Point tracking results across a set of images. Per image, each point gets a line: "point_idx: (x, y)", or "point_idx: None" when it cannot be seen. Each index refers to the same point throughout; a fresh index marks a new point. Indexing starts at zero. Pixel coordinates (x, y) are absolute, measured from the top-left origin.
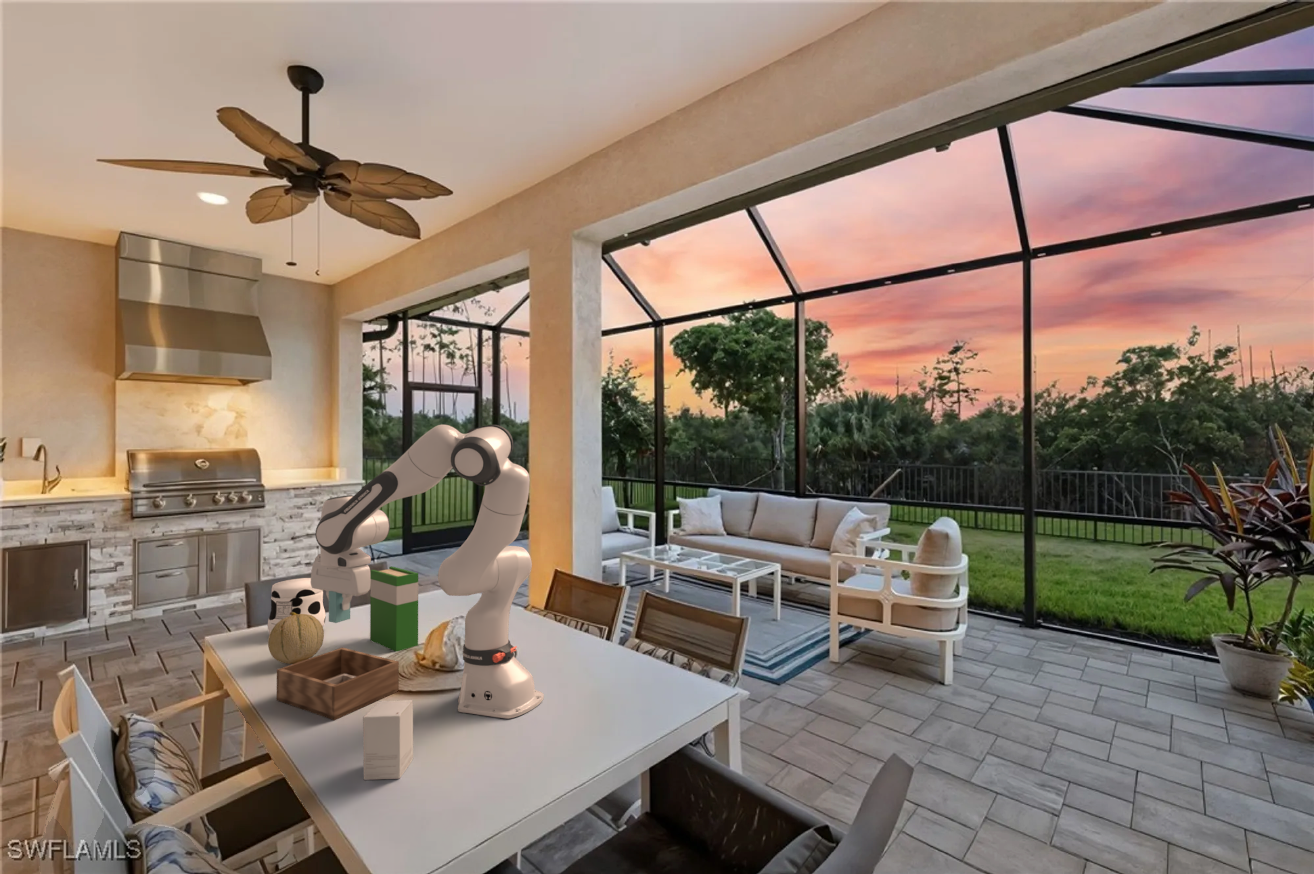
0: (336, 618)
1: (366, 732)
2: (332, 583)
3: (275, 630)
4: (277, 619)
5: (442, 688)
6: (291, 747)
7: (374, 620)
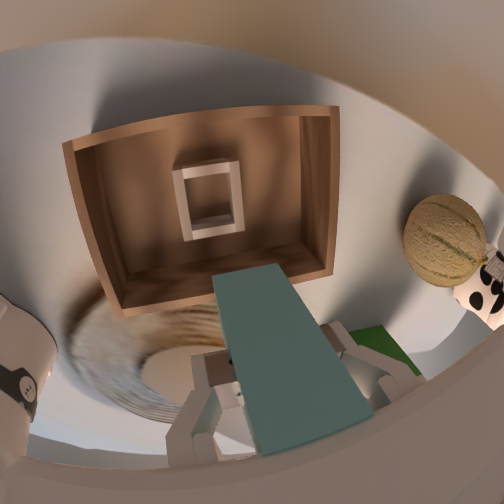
0: (215, 293)
1: None
2: (362, 499)
3: (474, 214)
4: (492, 256)
5: (85, 323)
6: (57, 49)
7: (390, 351)
